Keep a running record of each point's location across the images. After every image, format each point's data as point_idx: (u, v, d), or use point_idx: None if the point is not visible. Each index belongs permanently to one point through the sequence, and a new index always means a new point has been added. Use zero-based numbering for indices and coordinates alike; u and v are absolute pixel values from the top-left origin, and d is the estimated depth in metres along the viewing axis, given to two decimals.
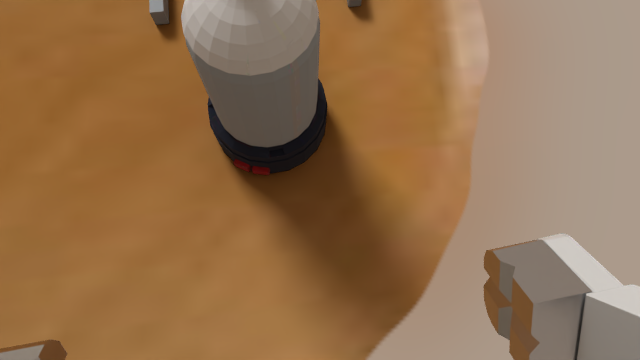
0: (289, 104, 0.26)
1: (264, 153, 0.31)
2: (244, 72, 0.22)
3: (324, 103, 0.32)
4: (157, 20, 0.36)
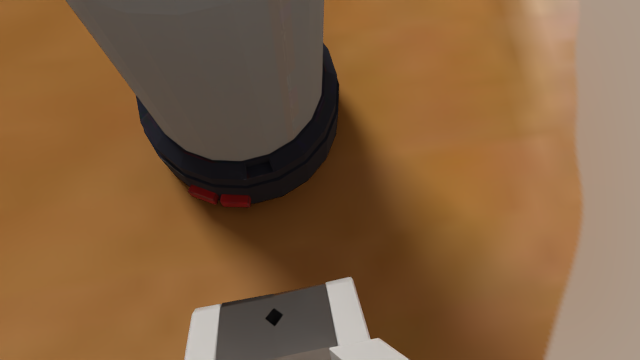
0: (274, 69, 0.13)
1: (237, 171, 0.17)
2: None
3: (334, 79, 0.19)
4: None
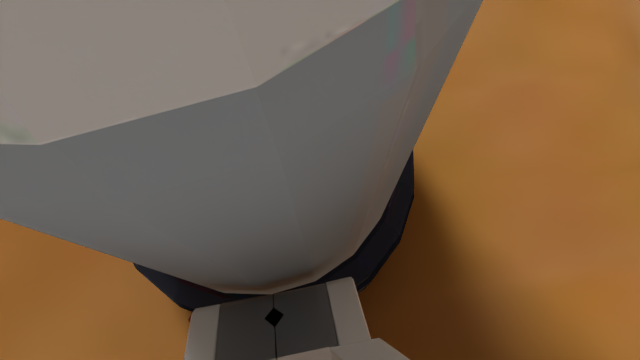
0: (351, 212, 0.06)
1: None
2: None
3: None
4: None
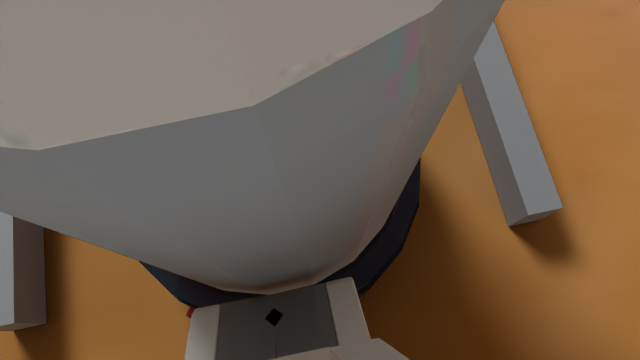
0: (351, 221, 0.06)
1: None
2: None
3: None
4: (10, 328, 0.13)
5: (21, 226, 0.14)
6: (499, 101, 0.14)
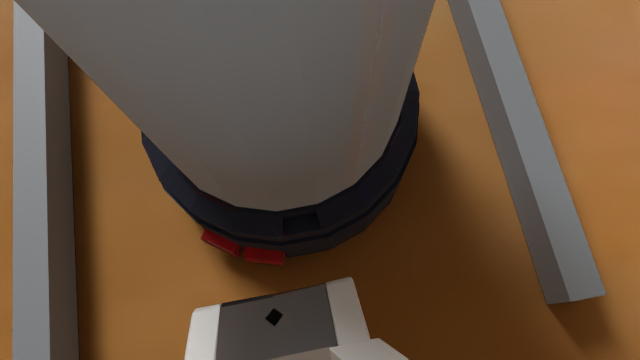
0: (348, 97, 0.07)
1: (270, 225, 0.12)
2: None
3: (416, 99, 0.13)
4: None
5: (56, 303, 0.14)
6: (539, 179, 0.14)
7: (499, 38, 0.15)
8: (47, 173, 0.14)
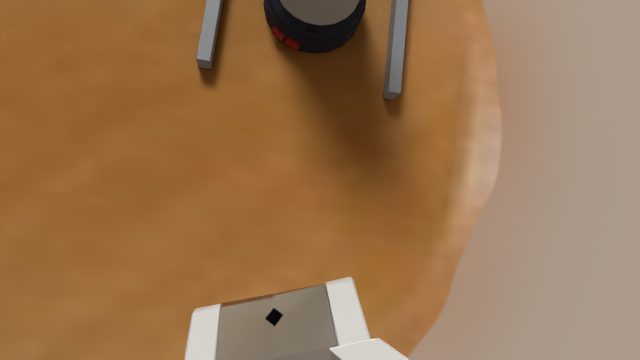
0: None
1: (302, 27, 0.36)
2: None
3: (363, 6, 0.37)
4: (200, 64, 0.37)
5: (215, 31, 0.37)
6: (395, 52, 0.38)
7: None
8: None
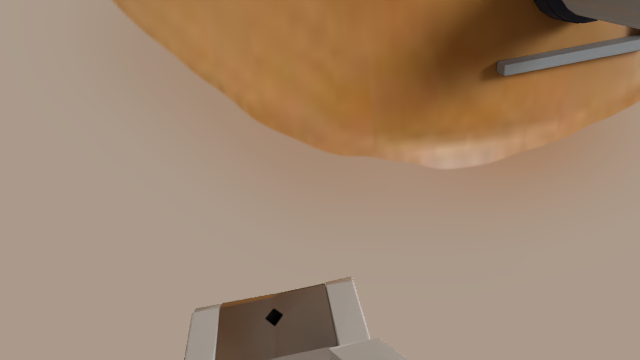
0: (600, 2, 0.34)
1: None
2: None
3: (581, 22, 0.41)
4: None
5: None
6: (541, 61, 0.43)
7: (591, 54, 0.44)
8: None
